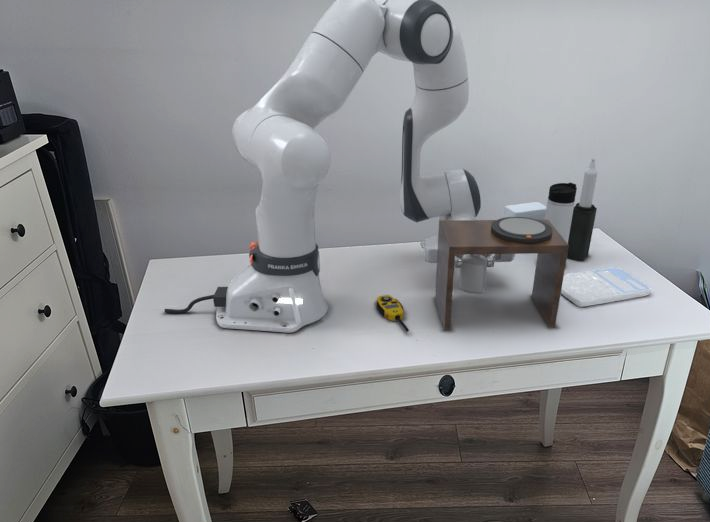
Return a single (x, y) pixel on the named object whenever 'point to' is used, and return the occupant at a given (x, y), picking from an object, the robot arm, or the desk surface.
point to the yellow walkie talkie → (391, 309)
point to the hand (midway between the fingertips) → (474, 264)
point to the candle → (583, 218)
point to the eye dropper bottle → (473, 273)
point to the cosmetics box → (526, 211)
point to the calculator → (602, 286)
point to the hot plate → (521, 230)
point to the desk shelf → (480, 240)
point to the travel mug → (561, 207)
